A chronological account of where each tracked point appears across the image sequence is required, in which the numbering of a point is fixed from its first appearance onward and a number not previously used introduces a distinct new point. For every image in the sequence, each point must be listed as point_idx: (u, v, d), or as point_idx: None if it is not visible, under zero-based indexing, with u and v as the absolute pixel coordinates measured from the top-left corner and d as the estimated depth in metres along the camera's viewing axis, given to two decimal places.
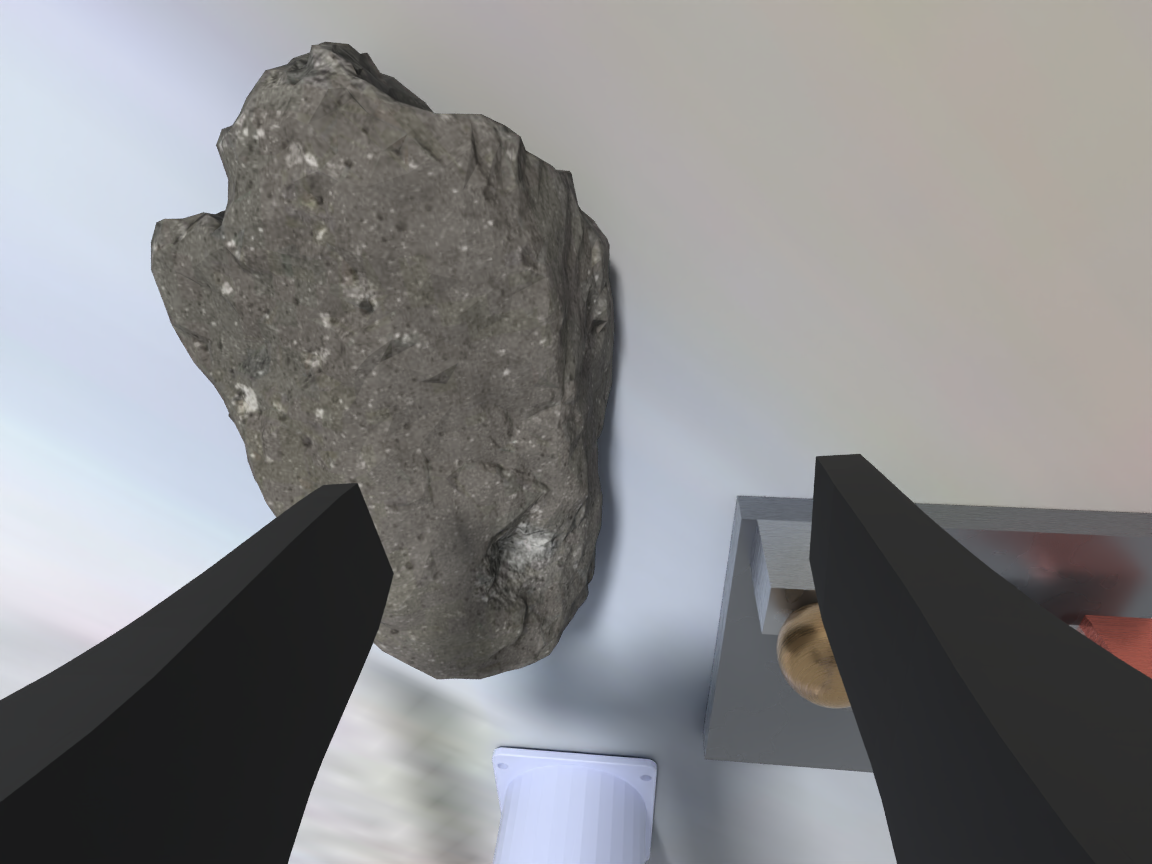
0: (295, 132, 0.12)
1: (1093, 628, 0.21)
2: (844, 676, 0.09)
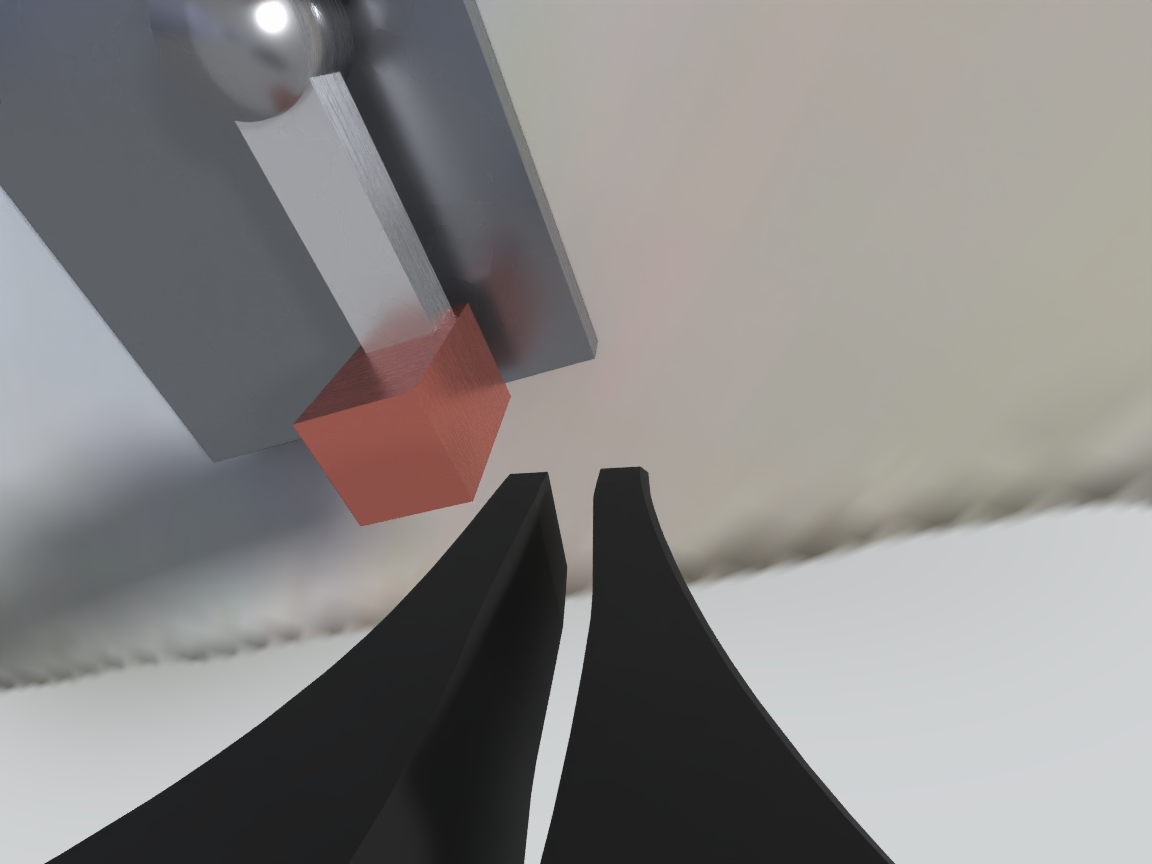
0: None
1: None
2: None
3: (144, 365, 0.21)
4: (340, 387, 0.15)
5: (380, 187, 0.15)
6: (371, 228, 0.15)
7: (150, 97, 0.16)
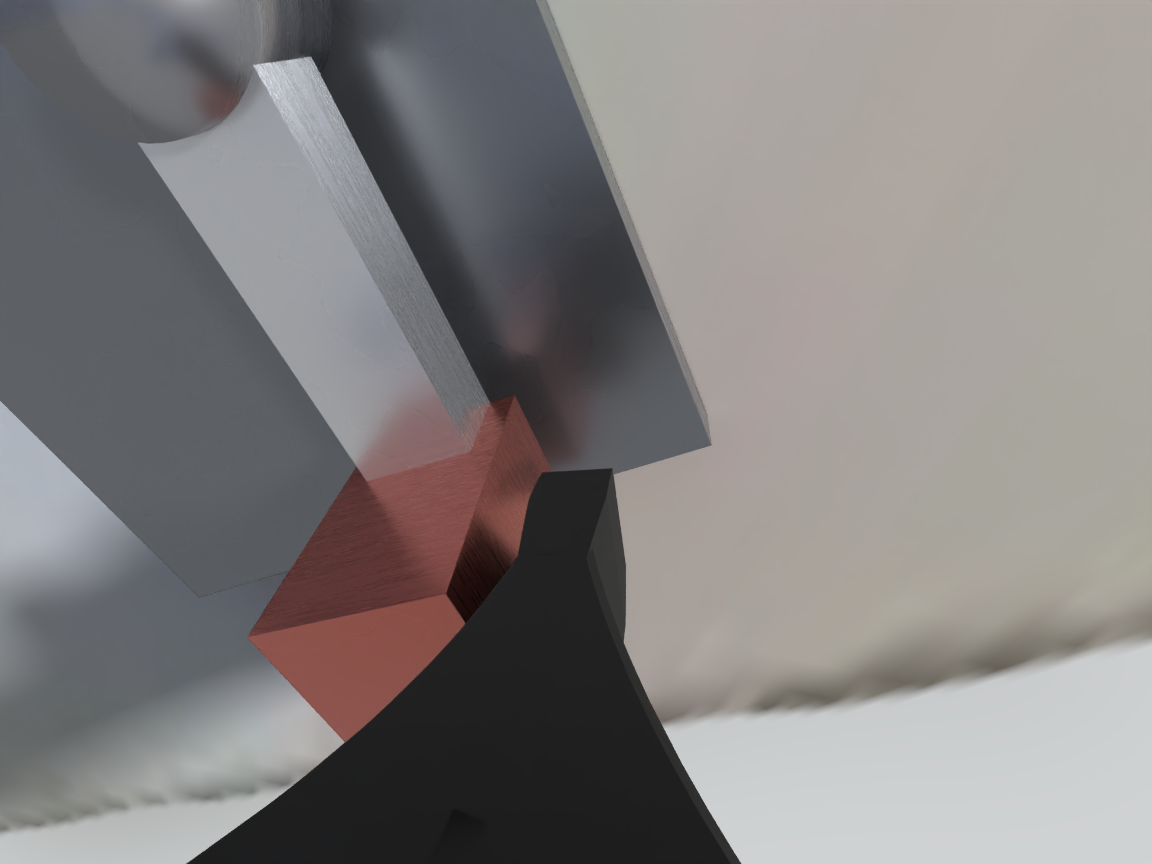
0: None
1: (505, 411, 0.11)
2: None
3: (93, 486, 0.15)
4: (326, 555, 0.10)
5: (380, 237, 0.10)
6: (368, 304, 0.09)
7: (43, 122, 0.11)
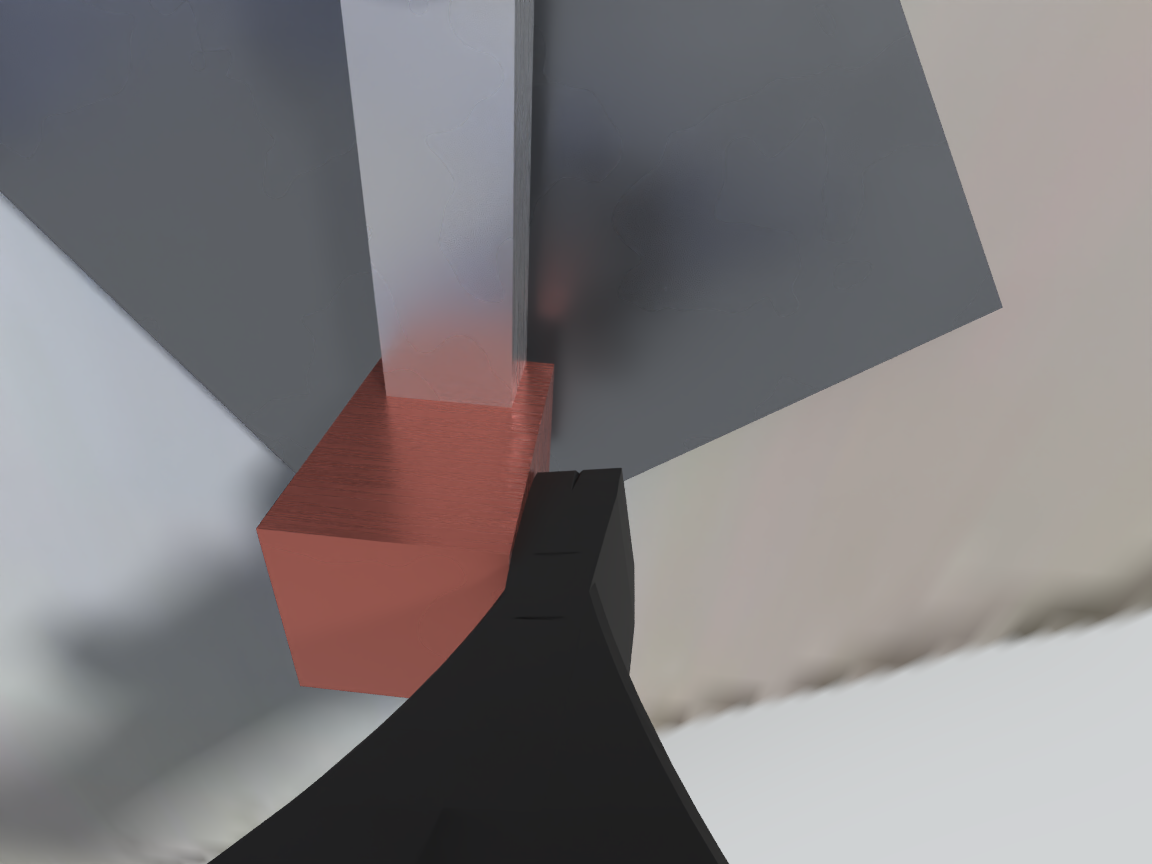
0: None
1: (545, 377, 0.11)
2: None
3: None
4: (348, 464, 0.09)
5: (523, 165, 0.09)
6: (493, 228, 0.09)
7: (251, 49, 0.10)
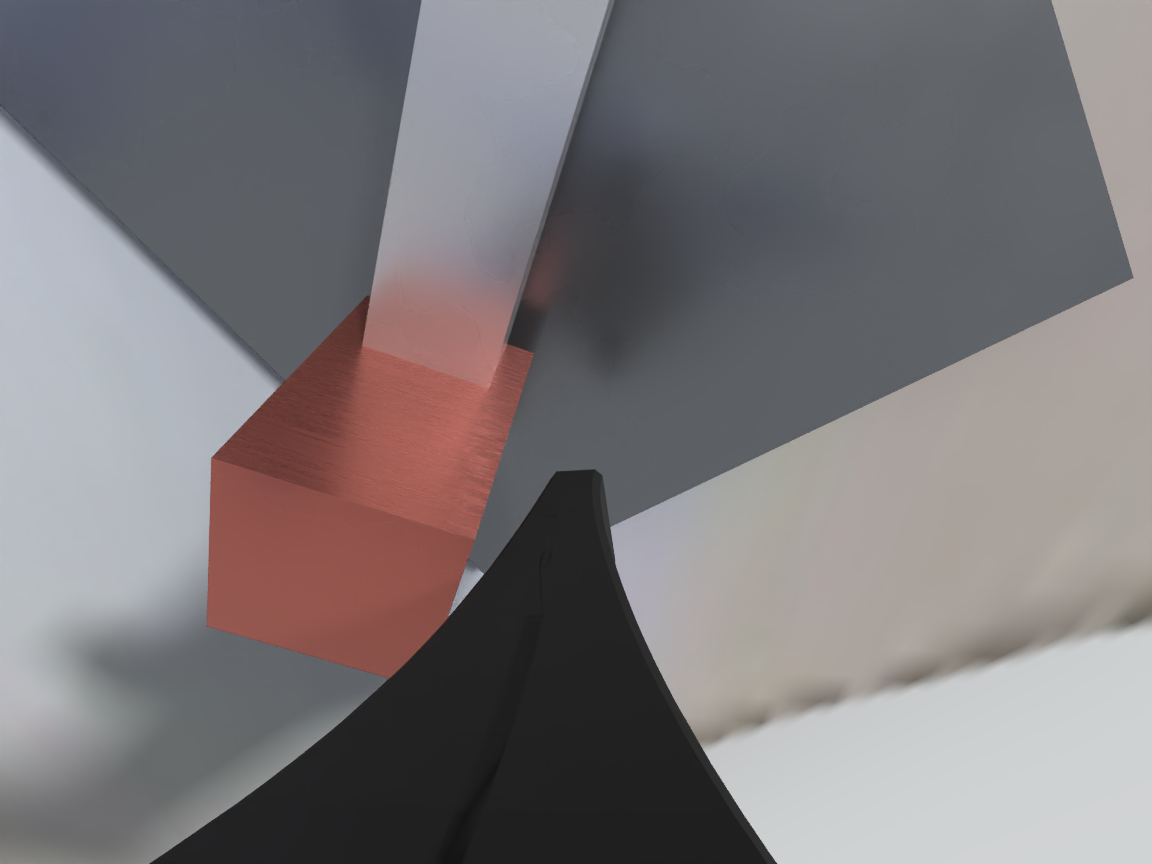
0: None
1: (523, 365, 0.11)
2: None
3: None
4: (316, 410, 0.08)
5: (565, 153, 0.09)
6: (522, 209, 0.09)
7: (357, 44, 0.10)
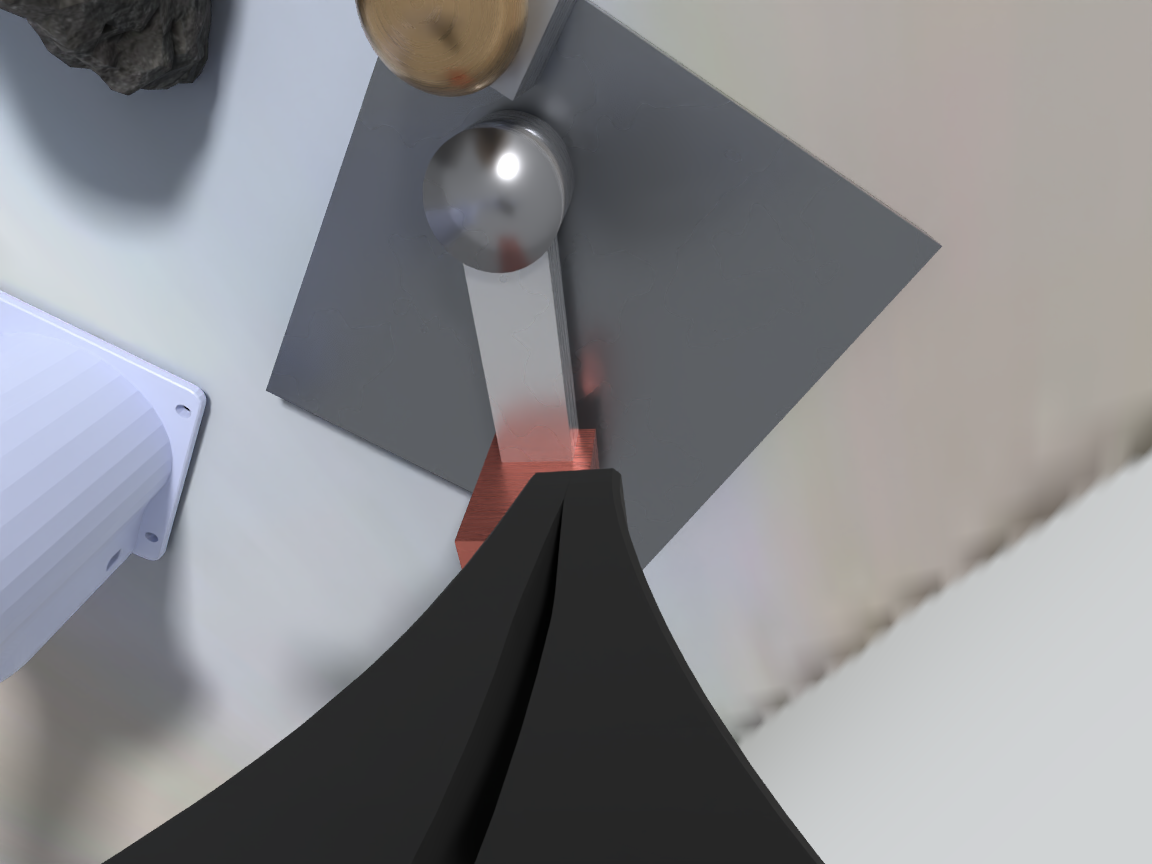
0: None
1: (590, 438, 0.19)
2: None
3: None
4: (490, 504, 0.17)
5: (563, 331, 0.17)
6: (551, 370, 0.16)
7: (446, 311, 0.19)
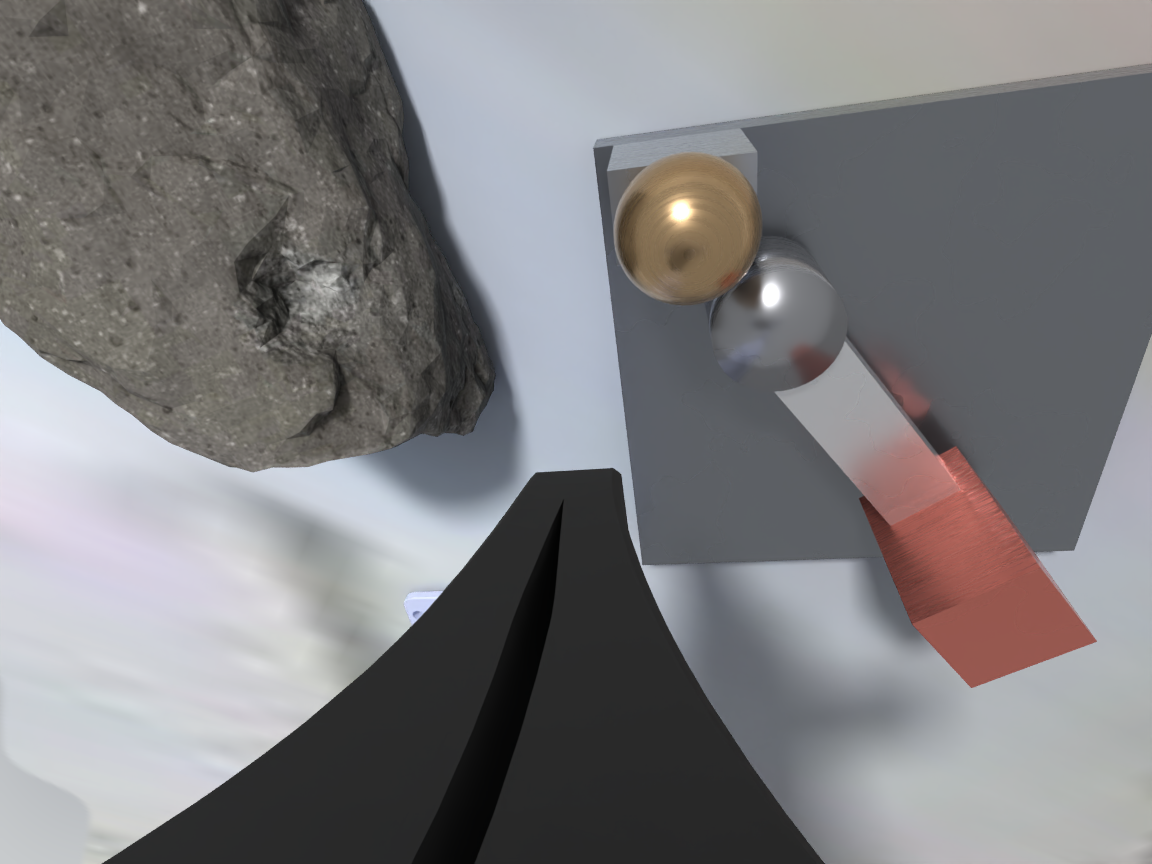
0: None
1: (959, 458, 0.18)
2: None
3: None
4: (915, 572, 0.17)
5: (883, 387, 0.17)
6: (897, 427, 0.16)
7: (756, 424, 0.20)
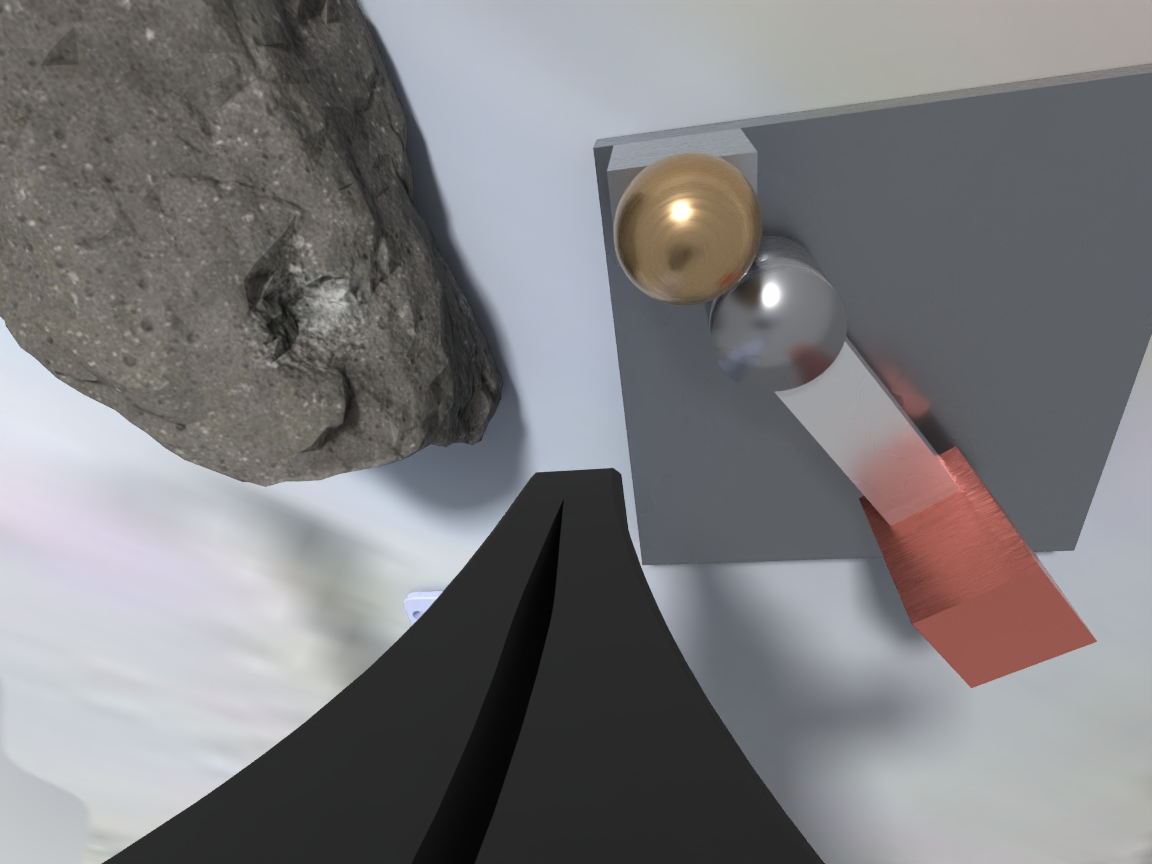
0: None
1: (959, 458, 0.18)
2: None
3: None
4: (915, 572, 0.17)
5: (883, 387, 0.17)
6: (897, 427, 0.16)
7: (756, 424, 0.20)
